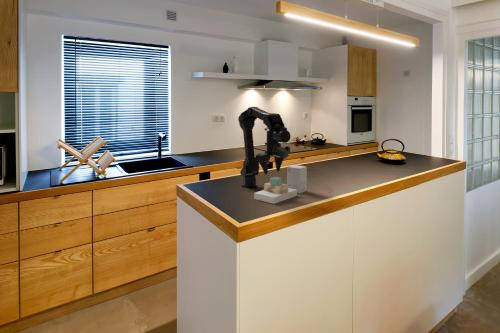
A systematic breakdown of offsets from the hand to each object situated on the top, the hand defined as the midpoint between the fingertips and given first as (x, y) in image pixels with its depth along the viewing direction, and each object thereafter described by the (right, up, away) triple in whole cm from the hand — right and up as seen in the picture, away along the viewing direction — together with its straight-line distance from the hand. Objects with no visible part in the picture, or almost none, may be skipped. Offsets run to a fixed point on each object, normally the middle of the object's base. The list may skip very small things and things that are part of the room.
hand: (272, 172), depth 153 cm
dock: (+2, -12, 0) cm, 12 cm away
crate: (+2, -5, -1) cm, 6 cm away
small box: (+13, -10, +11) cm, 20 cm away
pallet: (+2, -9, 0) cm, 9 cm away
